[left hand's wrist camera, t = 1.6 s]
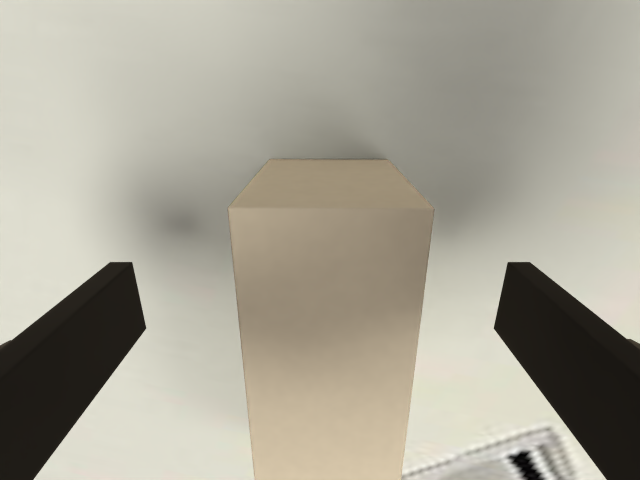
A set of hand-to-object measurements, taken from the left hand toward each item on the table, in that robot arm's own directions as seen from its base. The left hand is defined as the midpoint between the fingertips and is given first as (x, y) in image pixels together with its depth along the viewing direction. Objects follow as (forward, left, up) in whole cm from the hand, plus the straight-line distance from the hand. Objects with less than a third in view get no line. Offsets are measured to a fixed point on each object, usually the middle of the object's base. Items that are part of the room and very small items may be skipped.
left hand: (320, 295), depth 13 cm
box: (+3, +6, -8) cm, 10 cm away
